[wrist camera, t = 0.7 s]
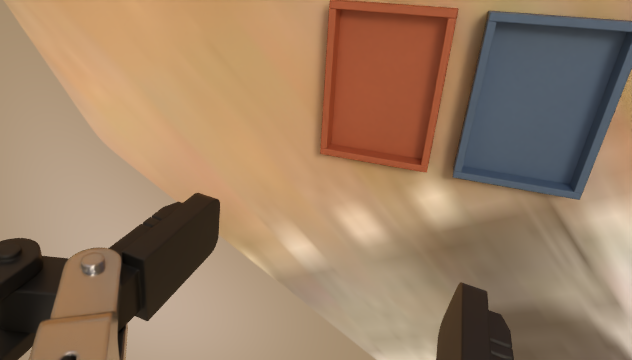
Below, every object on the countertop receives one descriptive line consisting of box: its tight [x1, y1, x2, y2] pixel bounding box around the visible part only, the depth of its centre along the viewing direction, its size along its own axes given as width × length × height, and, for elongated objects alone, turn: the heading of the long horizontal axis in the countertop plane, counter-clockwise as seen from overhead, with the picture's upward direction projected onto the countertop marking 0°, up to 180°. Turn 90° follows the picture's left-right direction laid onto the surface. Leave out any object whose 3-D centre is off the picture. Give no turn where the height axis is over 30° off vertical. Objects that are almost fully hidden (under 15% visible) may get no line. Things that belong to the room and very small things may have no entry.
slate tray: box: [453, 11, 632, 200], centre depth 31 cm, size 13×10×2 cm
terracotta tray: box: [320, 0, 458, 172], centre depth 34 cm, size 13×10×2 cm
